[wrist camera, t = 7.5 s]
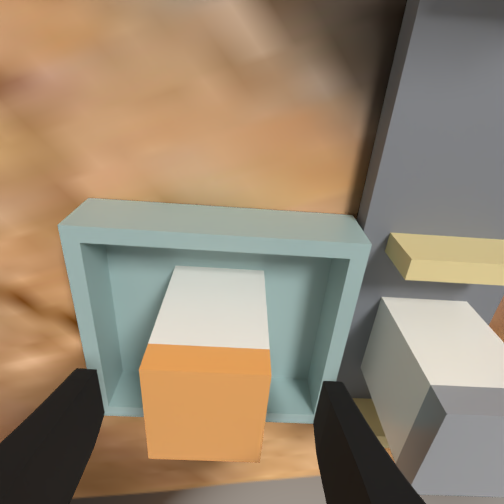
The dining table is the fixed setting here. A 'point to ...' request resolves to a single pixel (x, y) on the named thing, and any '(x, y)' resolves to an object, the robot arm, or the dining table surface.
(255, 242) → the tray
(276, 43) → the dining table surface
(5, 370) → the dining table surface
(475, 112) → the block
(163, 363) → the block
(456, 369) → the block
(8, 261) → the dining table surface
